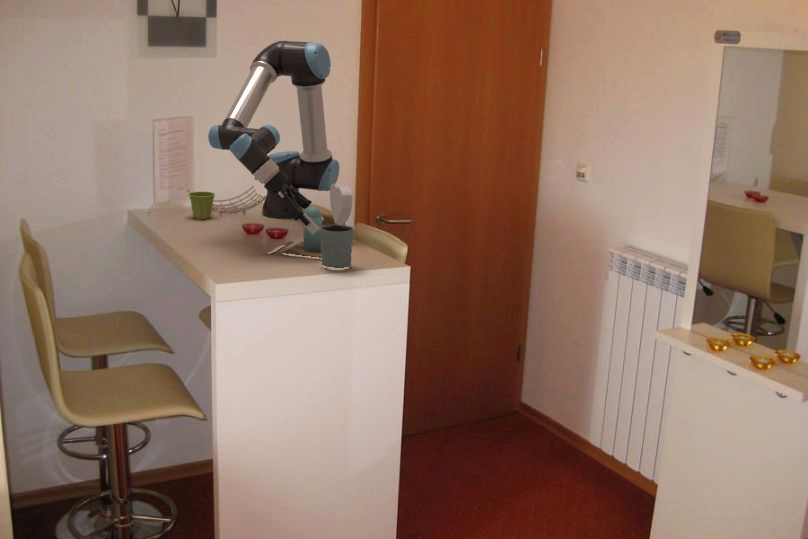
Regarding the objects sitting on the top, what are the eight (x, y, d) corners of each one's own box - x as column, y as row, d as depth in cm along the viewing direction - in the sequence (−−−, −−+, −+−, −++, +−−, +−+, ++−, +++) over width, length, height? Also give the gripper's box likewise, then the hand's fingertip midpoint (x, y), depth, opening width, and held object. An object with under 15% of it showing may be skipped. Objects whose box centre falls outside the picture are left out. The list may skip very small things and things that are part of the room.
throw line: (289, 241, 305) (289, 240, 305) (293, 242, 304) (293, 241, 304) (265, 254, 288) (265, 253, 288) (270, 254, 288) (270, 253, 288)
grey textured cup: (325, 272, 271) (326, 232, 268) (314, 263, 280) (315, 224, 277) (357, 270, 275) (359, 230, 272) (346, 261, 284) (347, 223, 281)
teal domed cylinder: (307, 246, 296) (308, 204, 293) (323, 248, 295) (324, 206, 291) (300, 250, 291) (301, 207, 288) (316, 252, 290) (317, 209, 286)
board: (301, 244, 303) (301, 241, 302) (341, 248, 299) (341, 246, 299) (281, 255, 288) (281, 252, 287) (323, 260, 284) (323, 257, 284)
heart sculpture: (353, 243, 307) (354, 189, 302) (338, 243, 306) (339, 189, 301) (340, 232, 321) (342, 181, 316) (326, 232, 320) (328, 181, 315)
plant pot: (212, 221, 329) (212, 197, 327) (185, 219, 329) (185, 195, 327) (217, 215, 338) (217, 192, 336) (192, 214, 338) (191, 190, 336)
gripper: (269, 178, 300) (314, 225, 304) (255, 192, 276) (304, 244, 280) (286, 162, 299) (331, 210, 302) (273, 175, 274) (322, 227, 278)
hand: (318, 227), depth 291 cm, fingers open, 13 cm apart
